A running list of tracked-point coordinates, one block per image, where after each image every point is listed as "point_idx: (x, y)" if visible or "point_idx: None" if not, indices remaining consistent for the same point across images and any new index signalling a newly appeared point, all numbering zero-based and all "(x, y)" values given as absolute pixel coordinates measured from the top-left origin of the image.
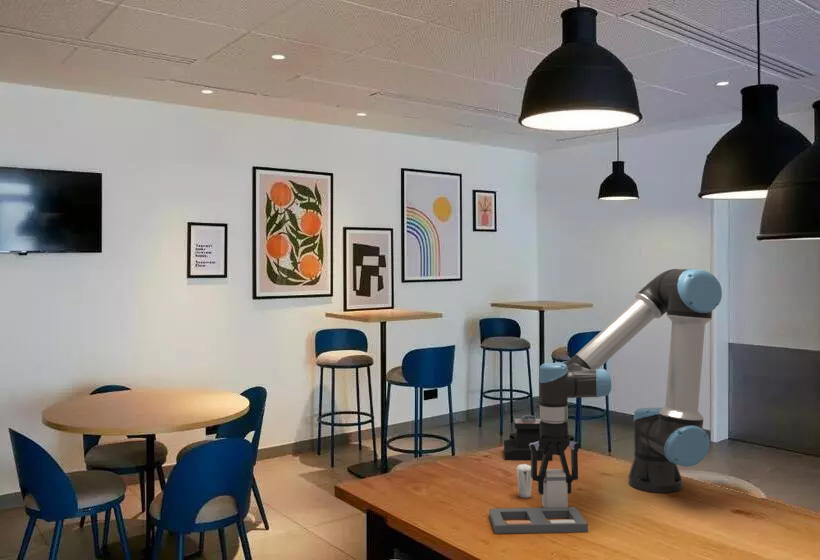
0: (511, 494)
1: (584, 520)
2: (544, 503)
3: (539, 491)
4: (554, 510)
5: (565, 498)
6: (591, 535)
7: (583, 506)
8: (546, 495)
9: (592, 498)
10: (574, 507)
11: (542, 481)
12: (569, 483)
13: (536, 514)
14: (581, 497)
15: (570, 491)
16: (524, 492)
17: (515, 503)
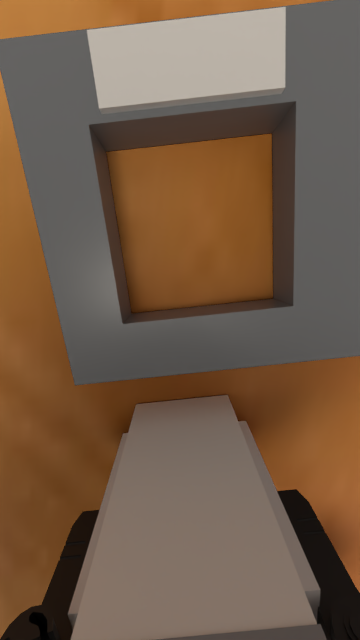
0: (346, 569)
1: (19, 123)
2: (249, 435)
3: (309, 508)
4: (211, 319)
5: (125, 454)
6: (9, 17)
7: (50, 465)
8: None
9: (9, 551)
10: (82, 376)
11: (347, 620)
12: (54, 613)
13: (343, 236)
14: (56, 557)
15: (77, 527)
16: None
17: (356, 481)
